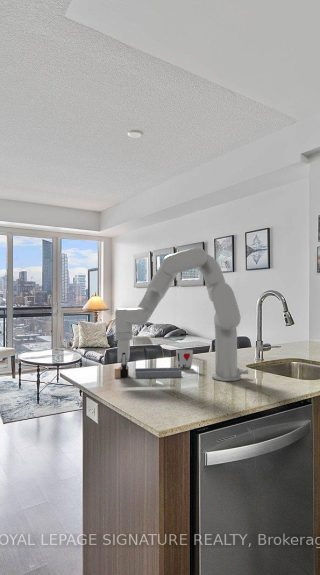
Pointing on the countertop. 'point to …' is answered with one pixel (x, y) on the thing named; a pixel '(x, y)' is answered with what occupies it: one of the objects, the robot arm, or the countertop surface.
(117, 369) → the block
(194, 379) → the countertop surface
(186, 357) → the cup
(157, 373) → the grey railed tray
